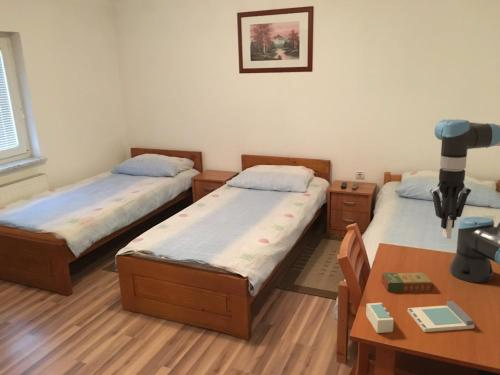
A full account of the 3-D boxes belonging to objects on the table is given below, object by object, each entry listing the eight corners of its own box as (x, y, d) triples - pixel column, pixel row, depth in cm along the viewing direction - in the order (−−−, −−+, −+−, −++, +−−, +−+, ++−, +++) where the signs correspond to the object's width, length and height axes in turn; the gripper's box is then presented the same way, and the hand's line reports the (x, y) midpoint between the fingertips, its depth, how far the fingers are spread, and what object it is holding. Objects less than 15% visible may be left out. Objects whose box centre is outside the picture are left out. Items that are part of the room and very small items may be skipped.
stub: (380, 314, 143) (381, 302, 141) (392, 331, 133) (393, 318, 132) (366, 315, 142) (366, 303, 141) (377, 333, 133) (377, 320, 131)
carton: (431, 292, 157) (432, 281, 156) (387, 292, 157) (388, 282, 156) (423, 281, 165) (423, 271, 164) (381, 282, 165) (381, 271, 164)
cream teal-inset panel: (453, 308, 145) (454, 300, 145) (473, 328, 134) (474, 320, 133) (407, 311, 144) (408, 303, 144) (424, 332, 133) (425, 324, 132)
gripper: (465, 164, 142) (458, 231, 148) (427, 167, 141) (422, 234, 147) (478, 169, 134) (471, 239, 141) (438, 172, 133) (433, 242, 140)
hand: (446, 237), depth 144 cm, fingers closed
